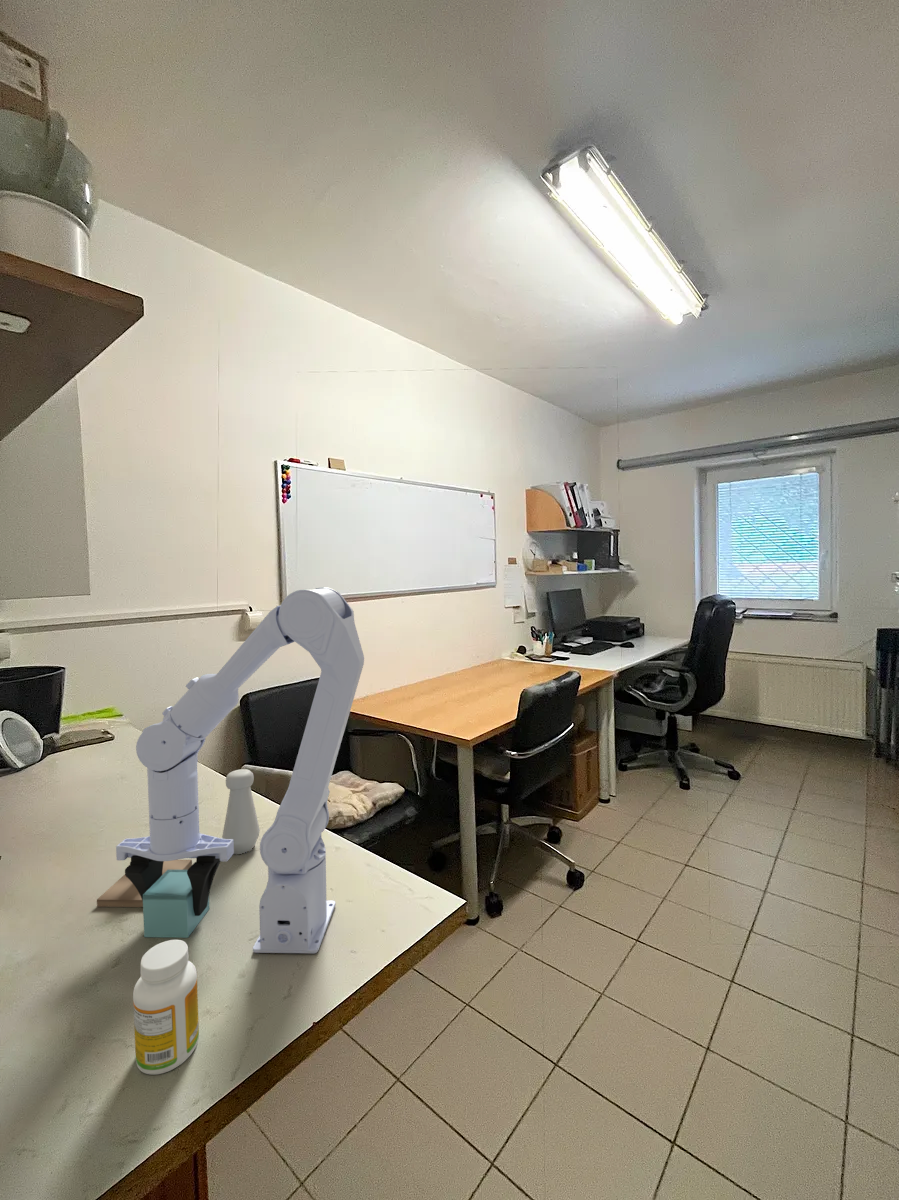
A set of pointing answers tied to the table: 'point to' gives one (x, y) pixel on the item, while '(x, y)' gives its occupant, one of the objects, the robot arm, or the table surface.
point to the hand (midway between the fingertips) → (177, 910)
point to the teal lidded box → (170, 907)
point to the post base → (134, 888)
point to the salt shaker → (241, 812)
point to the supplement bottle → (165, 1008)
